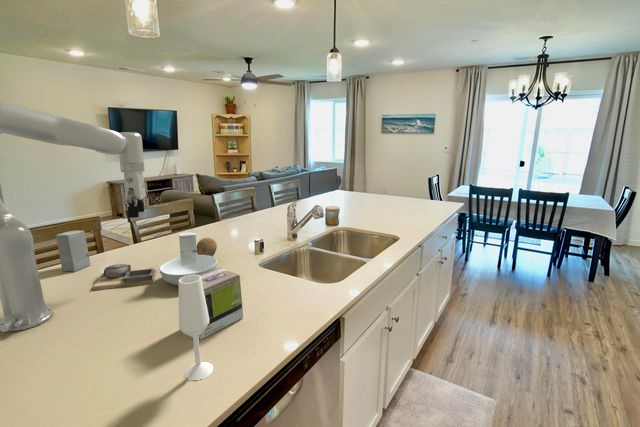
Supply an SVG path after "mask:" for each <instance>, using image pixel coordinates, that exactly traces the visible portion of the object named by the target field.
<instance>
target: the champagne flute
mask: <svg viewBox="0 0 640 427" xmlns="http://www.w3.org/2000/svg"><path fill="white" fill-rule="evenodd" d="M208 324H209V315H208V310H207V305H206V300H205V295H204V289H203V284H202V279H201V276H199V275H187V276H184V277H182V278H180V279H179V293H178V327H179V330H180V331H181V332H182V333H183V334H184V335H187V336H189V337H192V341H193V350H194V351H193V352H194V360H195V361H194V362H195V363H193V364H192V365H190V366H188V367H187V368H186V369H185V371H184V373H185V376H186V378H188V379H189V380H188V381H190V380H198V381H201V380H200V379H202V380H205V379H206V378H208V377H209V376H210V375H211V374H212V373H213V371H214V366H213V364H212V363H210V362H208V361H201V360H202V359H201V351H200V340H199V338H198V336H199V335H200V334H201V333H202V332H203V331H204V330H205V329H206V328H207V326H208ZM185 376H184V377H185ZM186 378H185V379H186Z"/></svg>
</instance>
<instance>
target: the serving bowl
mask: <svg viewBox="0 0 640 427" xmlns="http://www.w3.org/2000/svg"><path fill="white" fill-rule="evenodd" d="M217 266H218V260H217V258H216V257H214V256H208V255H198V254H197V265H188V266H181V256H179V257H176V258H172V259H170V260H167V261H166V262H164V263H163V264H161V265H160V267H159V273H160V275H161V278H163V280H164V281H166V282H167V283H169V284H171V285H173V286H178V283H179V279H180V278H182V277H184V276H187V275H202V274H205V273H207V272H210V271H213V270H215V269H217Z"/></svg>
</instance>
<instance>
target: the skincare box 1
mask: <svg viewBox="0 0 640 427" xmlns="http://www.w3.org/2000/svg"><path fill="white" fill-rule="evenodd" d="M86 238H87V237H86V232H85V230H70V231H64V232H62V233H59V234H55V240H56V244H57V245H56V246H57V249H58V254H59V260H60V266H61V269H62V270H61V271H62V272H63V271H64V272H73V273H76V272H77V271H81V270H83V269H84V268H87V267H90V266H91V261H90V260H91V259H90V254H89V250H88V244H87V239H86Z"/></svg>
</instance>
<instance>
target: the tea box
mask: <svg viewBox="0 0 640 427" xmlns="http://www.w3.org/2000/svg"><path fill="white" fill-rule="evenodd" d="M199 276H201V279H202V284H203V289H204V295H205V300H206V305H207V310H208V315H209V324H208V326H207V328H206V329H205V330H204V331H203V332H202V333H201V334H200V335H199V336H198V338H199V339H200V340H203V339H204V338H207V337H208V336H210V335H212V334H214V333H216V332H218V331H220V330H222V329H223V328H225V327H227V326H230V325H231V324H233V323H235V322H237V321H239V320H241V319H243V318H244V310H243V297H242V288H241V278H240V277H241V276H240V274H238V273H235V272H233V271H230V270H227V269H225V268H223V267H219V268H216V269H215V270H213V271H210V272H207V273H205V274H202V275H199ZM177 291H178V294H179V283H178V285H177Z"/></svg>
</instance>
